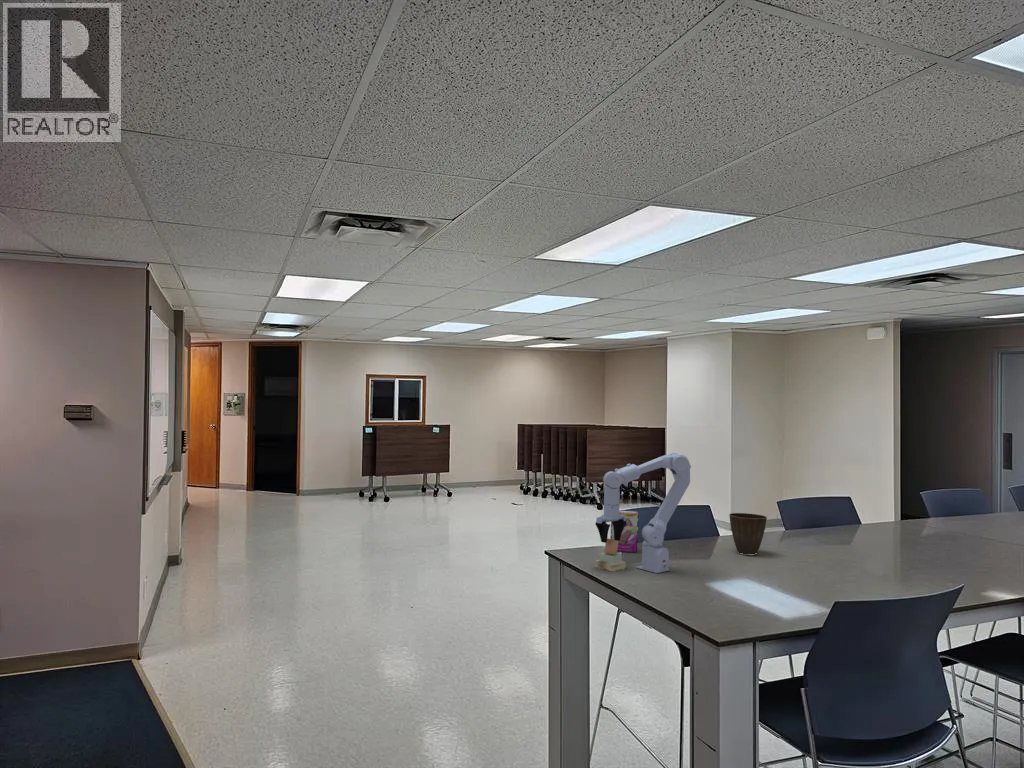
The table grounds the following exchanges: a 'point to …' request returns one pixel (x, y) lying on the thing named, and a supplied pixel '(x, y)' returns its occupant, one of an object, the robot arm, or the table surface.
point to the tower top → (610, 558)
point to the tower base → (610, 565)
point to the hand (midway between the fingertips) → (610, 541)
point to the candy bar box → (628, 533)
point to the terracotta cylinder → (611, 546)
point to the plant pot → (747, 531)
